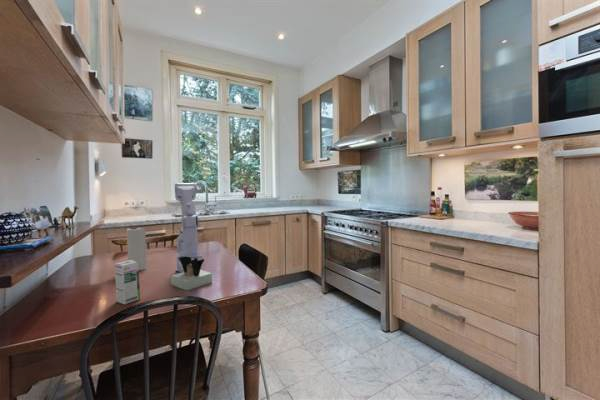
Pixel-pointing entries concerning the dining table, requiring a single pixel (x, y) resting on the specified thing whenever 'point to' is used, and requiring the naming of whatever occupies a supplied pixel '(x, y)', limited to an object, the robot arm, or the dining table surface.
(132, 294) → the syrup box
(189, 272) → the dowel
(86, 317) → the dining table surface
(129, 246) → the tall grey box
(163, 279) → the dining table surface
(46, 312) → the dining table surface
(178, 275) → the socket block
